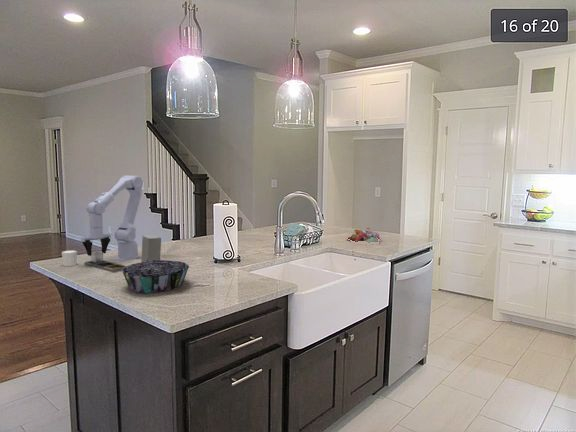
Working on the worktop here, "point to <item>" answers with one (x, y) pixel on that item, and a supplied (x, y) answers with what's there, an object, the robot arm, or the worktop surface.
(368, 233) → the multicoloured flower wreath
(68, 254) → the white cup
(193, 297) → the worktop surface
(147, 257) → the skincare box
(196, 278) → the worktop surface
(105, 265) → the silver divided tray
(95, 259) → the brushed steel square tube
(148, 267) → the decorative bowl
